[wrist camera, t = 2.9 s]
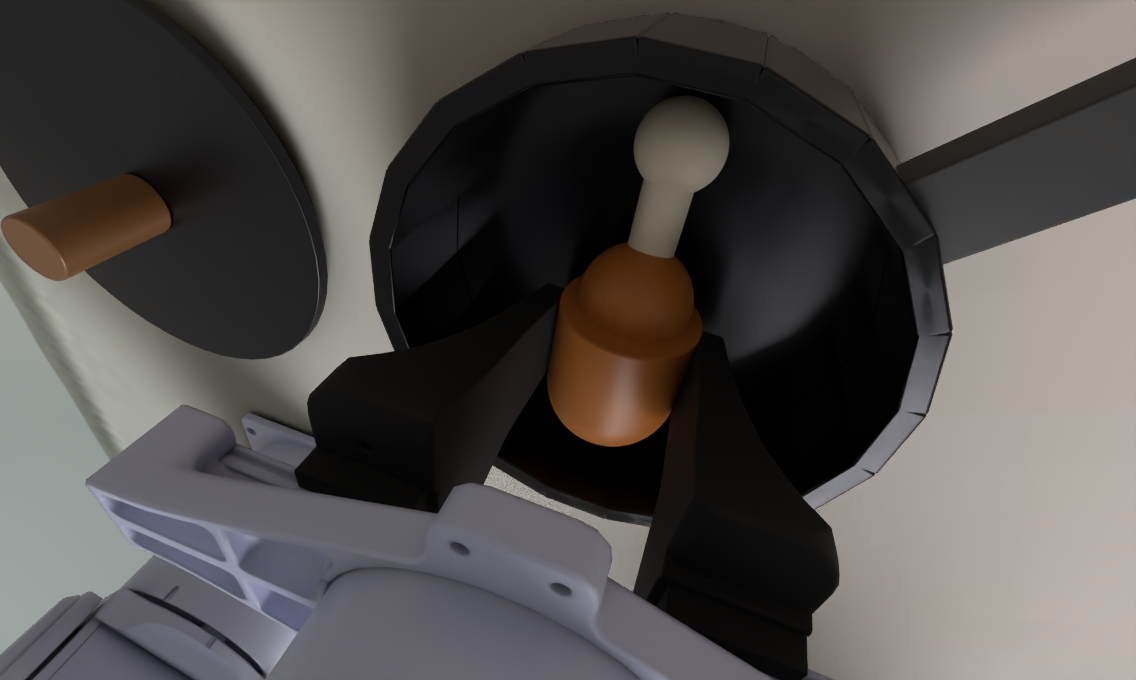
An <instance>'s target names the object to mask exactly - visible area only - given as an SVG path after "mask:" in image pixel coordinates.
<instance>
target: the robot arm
mask: <svg viewBox="0 0 1136 680" xmlns="http://www.w3.org/2000/svg"><path fill="white" fill-rule="evenodd" d="M564 289H565V288H563V287H560V286H556V285H553V284H550V283H548V284H546V285H544V286H543V287H541V288H540V289H538V290H537V291H535V292H534V293H532V294H531V295H529V296H527V297H526V298H524V299H523V300H521V301H520V302H518V303H516V304H515V305H513V306H511V307H510V308H508V309H506V310H505V311H503V312H501V313H500V314H498V315H496V316H494V317H492V318H490V319H488V320H486V321H484V322H482V323H481V324H479V325H477V326H474V327H472V328H470V329H468V330H465V331H463V332H460V333H458V334H455V335H453V336H450V337H447V338H444V339H440V340H437V341H434V342H431V343H427V344H424V345H420V346H416V347H412V348H408V349H403V350H398V351H393V352H388V353H382V354H374V355H366V356H358V357H349V358H348V359H347V360H346V361H344V362H343V363H342V364H341V365H340V366H338V367H337V368H336V369H335V370H334V371H333V372H332V373H331V374H330V375H329V376H328V377H327V378H326V379H325V380H324V381H323V382H322V383H321V384H320V385H319V386H318V387H317V388H316V389H315V390H314V391H313V392H312V393H311V394H310V395H309V398H308V401H307V406H308V415H309V419H310V423H311V427H312V431H313V435H314V437H312V436H309V435H306V434H304V433H301V432H298V431H296V430H293V429H291V428H288V427H285V426H283V425H280V424H278V423H275V422H272V421H270V420H267V419H265V418H262V417H259V416H257V415H254V414H250V413H249V414H246V415H245V416H244V417H243V418H242V424H243V427H244V429H245V432H246V435H247V437H248V440H249V443H250V445H251V448H252V449H249V448H247V447H244V446H242V445H239V444H237V443H236V437H235V434H234V431H233V429H232V428H231V426H230V425H229V424H228V423H227V422H225V421H224V420H222V419H220V418H219V417H216V416H214V415H211V414H208V413H206V412H203V411H201V410H198V409H196V408H193V407H190V406H188V405H181V406H180V407H179V408H177V409H176V410H175V411H173V412H172V413H171V414H170V415H168V416H167V417H166V418H164V419H163V420H162V421H161V422H159V423H158V424H157V425H156V426H154V427H153V428H152V429H150V430H149V431H148V432H147V433H145V434H144V435H143V436H141V437H140V438H139V439H138V440H136V441H135V442H134V443H132V444H131V445H130V446H129V447H127V448H126V449H125V450H123V451H122V452H121V453H120V454H118V455H117V456H116V457H115V458H113V459H112V460H111V461H109V462H108V463H107V464H106V465H104V466H103V467H102V468H100V469H99V470H98V471H97V472H95V473H94V474H93V475H91V476H90V477H89V478H88V479H86V486H87V487H88V488H89V490H90V491H91V492H92V494H93V495H94V497H95V498H96V499H97V501H98V502H99V503H100V505H101V506H102V507H103V509H104V510H105V511H106V513H107V514H108V516H109V517H110V518H111V520H112V521H113V522H114V524H115V525H116V526H117V528H118V529H119V530H120V532H121V533H122V535H123V536H124V537H125V539H126V540H127V541H128V542H129V543H130V544H131V545H133V546H136V547H138V548H140V549H142V550H144V551H147V552H149V553H151V554H153V555H154V556H153V557H152V558H151V559H150V560H149V561H148V562H147V563H146V564H145V565H144V566H143V567H142V568H141V569H140V570H138V571H137V572H136V573H135V574H134V575H133V576H132V577H131V578H130V579H129V580H128V581H127V582H126V583H125V585H123V586H122V588H121V589H119V590H117V591H116V592H114V593H112V594H111V595H109V596H107V597H105V598H104V599H103V600H102V598H101V597H99V596H98V595H96V594H95V593H93V592H86V593H85V594H83V595H82V596H79V595H77V596H71V597H66V598H64V599H62V600H61V601H60V602H58V603H57V604H56V605H55V606H54V607H53V608H52V609H50V610H49V611H48V612H47V613H46V614H45V615H44V616H43V617H42V618H40V619H39V620H38V621H37V622H36V623H35V624H34V625H33V626H32V627H30V628H29V629H28V630H27V631H26V632H25V633H24V634H23V635H22V636H21V637H19V638H18V639H17V640H16V641H15V642H14V643H13V644H12V645H11V646H10V647H8V648H7V649H6V650H5V651H4V652H3V653H2V654H1V655H0V680H834V679H832V678H829V677H826V676H824V675H821V674H819V673H816V672H814V671H811V670H809V669H808V662H807V636H808V637H809V636H810V635H811V633H812V630H813V629H812V614H813V613H814V612H815V611H816V610H817V609H818V608H819V607H820V606H821V605H822V604H823V603H824V602H825V601H826V600H827V599H828V598H829V597H830V596H831V595H832V594H833V593H834V591H835V590H836V588H837V587H838V585H839V575H840V574H839V563H838V556H837V551H836V546H835V542H834V538H833V533H832V529H831V527H830V526H829V525H828V524H827V523H826V522H825V521H824V520H823V519H822V518H821V516H820V515H819V514H818V513H817V512H816V511H815V510H814V509H813V508H812V507H811V506H810V505H809V504H808V503H807V502H806V501H805V500H804V499H803V497H802V496H801V495H800V494H799V493H798V491H797V490H796V489H795V488H794V487H793V485H792V484H791V483H790V482H789V480H788V479H787V478H786V476H785V475H784V474H783V473H782V471H781V470H780V468H779V467H778V465H777V464H776V463H775V461H774V460H773V458H772V457H771V455H770V454H769V452H768V451H767V449H766V448H765V446H764V444H763V443H762V441H761V439H760V437H759V436H758V434H757V432H756V430H755V428H754V426H753V424H752V422H751V420H750V418H749V416H748V413H747V411H746V409H745V407H744V404H743V402H742V399H741V397H740V394H739V391H738V389H737V386H736V383H735V380H734V377H733V374H732V371H731V367H730V364H729V360H728V356H727V352H726V347H725V341H724V340H723V338H722V337H721V336H717V335H714V334H711V333H708V332H705V331H702V336H701V339H700V341H699V343H698V345H697V348H696V350H695V353H694V355H693V358H692V360H691V363H690V365H689V368H688V370H687V373H686V375H685V378H684V380H683V383H682V385H681V388H680V390H679V393H678V395H677V398H676V400H675V403H674V405H673V408H672V412H671V417H670V424H669V431H668V438H667V445H666V452H665V459H664V467H663V474H662V480H661V485H660V491H659V495H658V499H657V503H656V507H655V511H654V515H653V519H652V523H651V526H650V530H649V534H648V538H647V542H646V546H645V549H644V553H643V557H642V561H641V564H640V568H639V572H638V576H637V579H636V583H635V587H634V590H633V592H631V591H630V590H628V589H626V588H625V587H623V586H622V585H620V584H618V583H617V582H615V581H613V580H612V579H610V578H609V577H608V573H609V570H610V566H611V562H612V552H611V546H610V545H609V543H608V542H607V541H606V540H605V539H604V537H603V536H602V535H601V534H600V533H599V532H598V530H596V529H595V528H593V527H591V526H589V525H587V524H586V523H584V522H582V521H580V520H578V519H575V518H573V517H570V516H568V515H565V514H562V513H560V512H557V511H554V510H552V509H549V508H546V507H544V506H541V505H538V504H536V503H533V502H530V501H528V500H525V499H523V498H520V497H517V496H515V495H512V494H509V493H507V492H504V491H501V490H499V489H496V488H493V487H491V486H486V485H483V484H484V482H485V480H486V478H487V476H488V474H489V471H490V469H491V467H492V465H493V463H494V461H495V459H496V457H497V455H498V452H499V450H500V448H501V446H502V444H503V442H504V440H505V438H506V436H507V434H508V432H509V431H510V429H511V427H512V425H513V424H514V422H515V421H516V419H517V417H518V416H519V414H520V413H521V411H522V409H523V408H524V406H525V405H526V403H527V402H528V400H529V398H530V397H531V395H532V394H533V392H534V390H535V389H536V387H537V386H538V384H539V382H540V381H541V379H542V377H543V376H544V374H545V373H546V371H547V369H548V366H549V360H550V354H551V348H552V342H553V337H554V331H555V325H556V319H557V313H558V307H559V301H560V297H561V294H562V292H563V290H564ZM101 600H102V601H101ZM100 601H101V602H100ZM99 602H100V603H99Z"/></svg>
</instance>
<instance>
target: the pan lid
mask: <svg viewBox="0 0 1136 680" xmlns="http://www.w3.org/2000/svg"><path fill="white" fill-rule="evenodd" d="M0 166H1V168H2V169H3V171H4V173H5V174H6V176H7V178H8V179H9V180H10V182H11V183H12V185H13V186H14V188H15V189H16V191H17V192H18V194H19V195H20V197H21V198H22V200H23V201H24V202H25V204H26V205H27V206H28V209H25V210H22V211H19V212H17V213H14V214H11V215H8V216H6V217H4V218H3V219H2V221H1V230H2V233H3V235H4V237H5V239H6V241H7V242H8V244H9V245H10V247H11V248H12V249H13V250H14V252H15V253H16V254H17V255H18V256H19V257H20V258H21V259H22V260H23V261H24V262H25V263H26V264H27V265H28V266H30V267H31V268H32V269H33V270H35V271H36V272H38V273H39V274H41V275H42V276H44V277H46V278H49V279H51V280H55V281H62V280H66V279H68V278H70V277H72V276H74V275H76V274H78V273H80V272H82V271H86V272H87V273H88V274H89V275H90V276H91V277H92V278H93V279H94V280H95V281H96V282H97V283H99V284H100V285H101V286H102V287H103V288H104V289H106V290H107V291H108V292H109V293H110V294H111V295H113V296H114V297H115V298H117V299H118V300H119V301H120V302H122V303H123V304H124V305H126V306H127V307H128V308H129V309H131V310H132V311H134V312H135V313H137V314H138V315H140V316H141V317H143V318H144V319H145V320H147V321H148V322H150V323H152V324H153V325H155V326H157V327H158V328H160V329H162V330H163V331H165V332H167V333H169V334H170V335H172V336H174V337H176V338H178V339H180V340H182V341H184V342H186V343H189V344H191V345H194V346H196V347H198V348H201V349H203V350H206V351H210V352H213V353H216V354H219V355H223V356H228V357H233V358H240V359H266V358H270V357H274V356H278V355H281V354H283V353H285V352H287V351H290V350H292V349H293V348H294V347H295V346H297V345H298V344H299V343H300V342H302V341H303V340H304V339H305V338H306V337H307V336H309V334H310V333H311V332H312V330H313V329H314V328H315V326H316V325H317V323H318V321H319V319H320V316H321V314H322V312H323V309H324V304H325V300H326V295H327V278H328V273H327V263H326V253H325V249H324V244H323V240H322V235H321V231H320V227H319V224H318V221H317V219H316V216H315V213H314V210H313V207H312V204H311V201H310V199H309V197H308V195H307V192H306V190H305V188H304V186H303V184H302V181H301V179H300V177H299V175H298V173H297V171H296V169H295V167H294V166H293V164H292V162H291V160H290V158H289V157H288V155H287V153H286V151H285V149H284V148H283V146H282V144H281V143H280V141H279V140H278V138H277V137H276V135H275V134H274V132H273V131H272V129H271V128H270V126H269V125H268V123H267V122H266V120H265V119H264V117H263V116H262V114H261V113H260V112H259V110H258V109H257V108H256V107H255V105H254V104H253V103H252V101H251V100H250V99H249V98H248V96H247V95H246V94H245V92H244V91H243V90H242V89H241V87H240V86H239V85H238V84H237V83H236V82H235V81H234V79H233V78H232V77H231V76H230V75H229V74H228V73H227V72H226V71H225V70H224V69H223V67H222V66H221V65H220V64H219V63H218V62H217V61H216V60H215V59H214V58H213V57H212V56H211V55H210V54H209V53H208V52H207V51H206V50H205V49H204V48H203V47H202V46H201V45H200V44H198V43H197V42H196V41H195V40H194V39H193V38H192V37H191V36H190V35H189V34H188V33H187V32H186V31H184V30H183V29H182V28H180V27H179V26H178V25H177V24H175V23H174V22H173V21H172V20H170V19H169V18H168V17H166V16H165V15H164V14H163V13H161V12H160V11H159V10H158V9H156V8H155V7H153V6H152V5H150V4H148V3H147V2H145V1H144V0H0Z"/></svg>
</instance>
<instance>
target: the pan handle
mask: <svg viewBox="0 0 1136 680" xmlns="http://www.w3.org/2000/svg"><path fill="white" fill-rule="evenodd" d="M897 166H898V168H899V170H900V172H901V174H902V176H903V178H904V180H905V182H906V184H907V185H908V187H909V188H910V190H911V191H912V193H913V194H914V196H915V197H916V199H917V200H918V202H919V203H920V205H921V206H922V208H923V209H924V211H925V212H926V214H927V215H928V217H929V218H930V220H931V222H932V223H933V225H934V227H935V229H936V233H937V235H938V237H939V243H940V250H941V256H942V262H943V264H946V263H949V262H952V261H955V260H958V259H961V258H963V257H966V256H969V255H972V254H975V253H978V252H981V251H984V250H987V249H990V248H993V247H995V246H998V245H1001V244H1004V243H1007V242H1010V241H1013V240H1016V239H1019V238H1022V237H1025V236H1028V235H1030V234H1033V233H1036V232H1039V231H1042V230H1045V229H1048V228H1051V227H1054V226H1057V225H1060V224H1062V223H1065V222H1068V221H1071V220H1074V219H1077V218H1080V217H1083V216H1086V215H1089V214H1092V213H1095V212H1097V211H1100V210H1103V209H1106V208H1109V207H1112V206H1115V205H1118V204H1121V203H1124V202H1127V201H1129V200H1132V199H1135V198H1136V58H1134V59H1132V60H1129V61H1127V62H1125V63H1123V64H1121V65H1118V66H1116V67H1114V68H1112V69H1110V70H1107V71H1105V72H1103V73H1101V74H1098V75H1096V76H1094V77H1092V78H1090V79H1087V80H1085V81H1083V82H1081V83H1078V84H1076V85H1074V86H1072V87H1070V88H1067V89H1065V90H1063V91H1061V92H1059V93H1056V94H1054V95H1052V96H1050V97H1047V98H1045V99H1043V100H1041V101H1039V102H1036V103H1034V104H1032V105H1030V106H1028V107H1025V108H1023V109H1021V110H1019V111H1016V112H1014V113H1012V114H1010V115H1008V116H1005V117H1003V118H1001V119H999V120H996V121H994V122H992V123H990V124H988V125H985V126H983V127H981V128H979V129H977V130H974V131H972V132H970V133H968V134H965V135H963V136H961V137H959V138H957V139H954V140H952V141H950V142H948V143H946V144H943V145H941V146H939V147H937V148H934V149H932V150H930V151H928V152H926V153H923V154H921V155H919V156H917V157H914V158H912V159H910V160H908V161H906V162H903V163H901V164H899V165H897Z"/></svg>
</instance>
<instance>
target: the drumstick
mask: <svg viewBox="0 0 1136 680" xmlns="http://www.w3.org/2000/svg"><path fill="white" fill-rule="evenodd" d="M728 151H729V132H728V128H727V125H726V122H725V120H724V118H723V117H722V115H721V113H720V112H719V111H718V110H717V109H716V108H715V107H714V106H713V105H712V104H711V103H709V102H708V101H706V100H704V99H702V98H699V97H695V96H688V95H682V96H675V97H671V98H668V99H666V100H663V101H662V102H660V103H658V104H657V105H656V106H654V107H653V108H652V109H651V110H650V111H649V112H648V113H647V114H646V115H645V116H644V118H643V119H642V121H641V123H640V125H639V127H638V129H637V132H636V135H635V140H634V158H635V162H636V165H637V168H638V170H639V172H640V174H641V175H642V177H643V178H644V179H643V183H642V187H641V192H640V196H639V200H638V204H637V208H636V212H635V216H634V220H633V224H632V228H631V232H630V236H629V240H628V242H625V243H621V244H618V245H615V246H613V247H611V248H609V249H607V250H605V251H604V252H602V253H601V254H600V255H599V256H597V257H596V258H595V259H594V260H593V262H592V263H591V264H590V265H589V267H588V268H587V270H586V271H585V273H584V275H582V276H580V277H578V278H576V279H574V280H573V281H572V282H570V283H569V284H568V285H567V286H566V288H565V289H564V290H563V292H562V294H561V297H560V301H559V307H558V313H557V319H556V325H555V331H554V337H553V342H552V348H551V354H550V360H549V366H548V374H547V388H548V394H549V398H550V401H551V404H552V406H553V409H554V411H555V413H556V414H557V416H558V417H559V419H560V420H561V422H562V423H563V424H564V425H565V426H566V427H567V428H568V429H569V430H570V431H571V432H573V433H574V434H575V435H577V436H578V437H580V438H582V439H584V440H586V441H588V442H590V443H594V444H597V445H602V446H610V447H616V446H624V445H630V444H633V443H636V442H638V441H640V440H643V439H645V438H646V437H648V436H649V435H651V434H652V433H654V432H655V431H656V430H657V429H658V428H659V427H660V426H661V425H662V424H663V423H664V422H665V420H666V419H667V417H668V416H669V414H670V412H671V410H672V408H673V405H674V403H675V400H676V398H677V395H678V393H679V390H680V388H681V385H682V383H683V380H684V378H685V375H686V373H687V370H688V368H689V365H690V363H691V360H692V358H693V355H694V353H695V350H696V348H697V345H698V343H699V341H700V339H701V336H702V330H703V328H702V321H701V317H700V315H699V313H698V311H697V309H696V308H695V306H694V290H693V285H692V282H691V279H690V276H689V274H688V272H687V270H686V268H685V267H684V265H683V264H682V263H681V262H680V260H679V259H678V258H677V257H675V256H674V254H675V251H676V248H677V245H678V242H679V238H680V235H681V232H682V229H683V226H684V223H685V219H686V216H687V213H688V210H689V207H690V204H691V201H692V197H693V194H694V192H696V191H698V190H701V189H702V188H704V187H705V186H707V185H708V184H709V183H711V182H712V181H713V180H714V179H715V178H716V177H717V175H718V174H719V173H720V171H721V169H722V168H723V166H724V164H725V162H726V159H727V156H728Z"/></svg>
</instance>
